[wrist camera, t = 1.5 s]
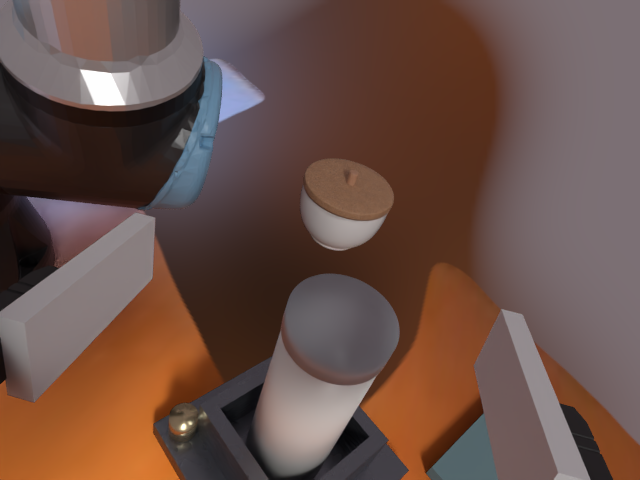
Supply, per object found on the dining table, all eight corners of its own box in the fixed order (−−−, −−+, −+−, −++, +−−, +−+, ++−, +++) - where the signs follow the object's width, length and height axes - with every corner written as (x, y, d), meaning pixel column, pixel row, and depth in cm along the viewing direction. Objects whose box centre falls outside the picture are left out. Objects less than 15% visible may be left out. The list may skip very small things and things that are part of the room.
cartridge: (227, 437, 34) (262, 299, 24) (291, 395, 38) (345, 260, 27) (277, 511, 31) (341, 390, 21) (340, 457, 35) (421, 333, 25)
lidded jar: (327, 197, 63) (346, 138, 57) (388, 241, 59) (416, 182, 53) (273, 225, 56) (288, 161, 50) (339, 278, 52) (364, 215, 46)
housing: (153, 432, 34) (154, 396, 31) (295, 350, 43) (308, 314, 39) (260, 619, 28) (277, 599, 24) (402, 477, 36) (429, 447, 33)
